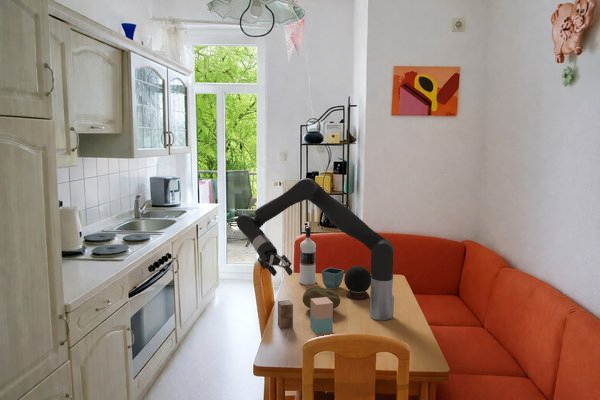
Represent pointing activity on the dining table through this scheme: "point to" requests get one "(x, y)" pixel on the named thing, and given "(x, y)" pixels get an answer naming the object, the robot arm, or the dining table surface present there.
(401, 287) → the dining table surface
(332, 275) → the flower pot
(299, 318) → the dining table surface
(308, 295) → the decorative stone
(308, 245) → the vodka
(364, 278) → the black ball on stand
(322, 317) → the tower top
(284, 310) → the pillar
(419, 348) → the dining table surface
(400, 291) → the dining table surface
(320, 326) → the tower base
